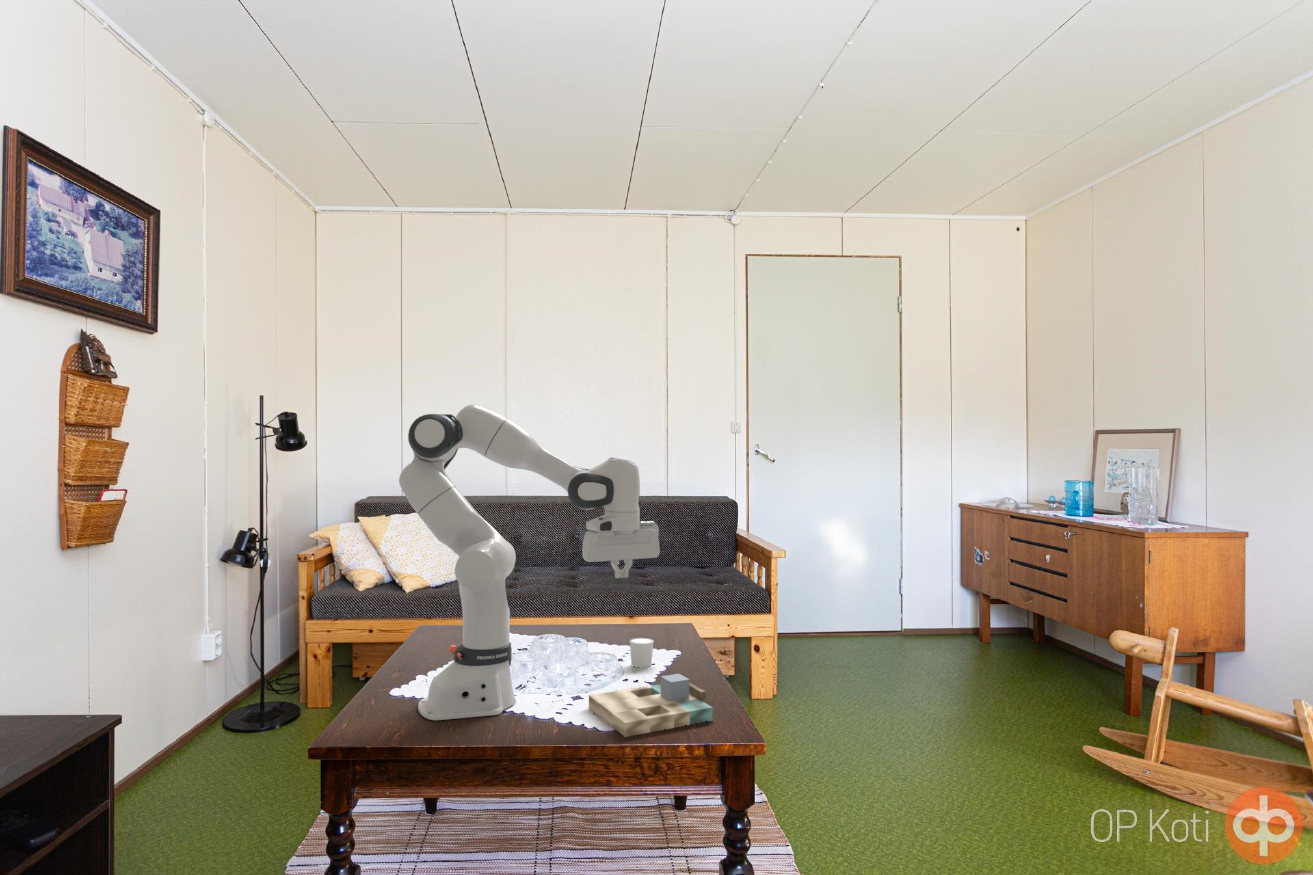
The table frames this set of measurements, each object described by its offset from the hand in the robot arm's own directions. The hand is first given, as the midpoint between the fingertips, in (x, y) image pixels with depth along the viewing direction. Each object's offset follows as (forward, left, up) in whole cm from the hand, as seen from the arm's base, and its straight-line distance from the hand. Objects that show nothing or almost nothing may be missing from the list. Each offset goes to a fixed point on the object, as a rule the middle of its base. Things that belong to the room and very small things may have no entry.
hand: (621, 577), depth 190 cm
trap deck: (0, -16, -29) cm, 33 cm away
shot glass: (+16, +20, -29) cm, 39 cm away
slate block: (+7, -16, -26) cm, 31 cm away
